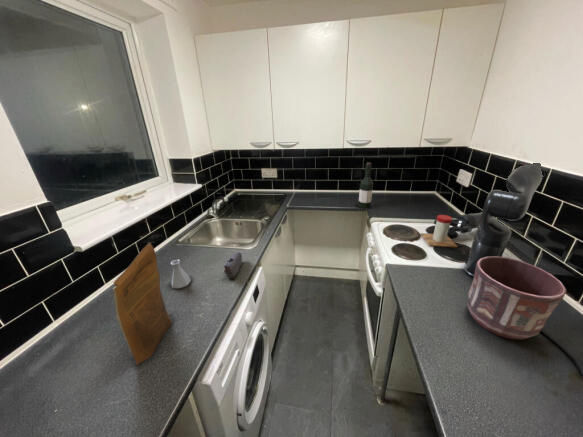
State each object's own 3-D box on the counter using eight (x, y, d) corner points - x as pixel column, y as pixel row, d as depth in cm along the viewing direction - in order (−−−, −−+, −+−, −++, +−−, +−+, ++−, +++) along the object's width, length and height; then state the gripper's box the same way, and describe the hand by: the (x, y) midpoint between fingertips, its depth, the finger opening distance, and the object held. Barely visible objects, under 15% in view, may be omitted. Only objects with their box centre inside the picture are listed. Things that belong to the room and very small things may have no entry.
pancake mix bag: (183, 312, 77) (161, 240, 65) (150, 370, 59) (111, 285, 48) (163, 313, 77) (138, 240, 66) (124, 370, 60) (80, 285, 48)
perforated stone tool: (235, 259, 105) (233, 246, 102) (246, 260, 104) (245, 247, 101) (222, 281, 91) (219, 266, 88) (234, 282, 90) (232, 267, 87)
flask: (169, 290, 87) (162, 269, 83) (173, 279, 94) (166, 258, 89) (189, 286, 89) (184, 265, 85) (192, 275, 95) (186, 255, 91)
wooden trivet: (457, 247, 107) (458, 246, 107) (429, 246, 109) (430, 245, 109) (446, 235, 118) (446, 234, 117) (421, 234, 120) (421, 233, 119)
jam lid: (453, 223, 106) (454, 220, 105) (439, 223, 107) (440, 219, 106) (447, 218, 111) (448, 215, 110) (434, 217, 112) (435, 214, 111)
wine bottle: (369, 204, 162) (373, 161, 150) (371, 208, 155) (377, 164, 142) (357, 204, 163) (360, 161, 151) (359, 208, 155) (363, 164, 143)
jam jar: (447, 242, 110) (453, 220, 106) (435, 241, 111) (440, 220, 106) (442, 236, 115) (448, 216, 111) (430, 236, 116) (435, 215, 111)
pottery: (454, 323, 69) (470, 274, 62) (467, 293, 80) (482, 249, 73) (536, 363, 58) (569, 309, 50) (538, 321, 69) (565, 272, 61)
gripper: (458, 209, 118) (431, 213, 115) (485, 220, 105) (456, 225, 102) (454, 222, 121) (428, 226, 118) (480, 234, 109) (452, 239, 105)
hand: (441, 226), depth 110 cm, fingers open, 8 cm apart
